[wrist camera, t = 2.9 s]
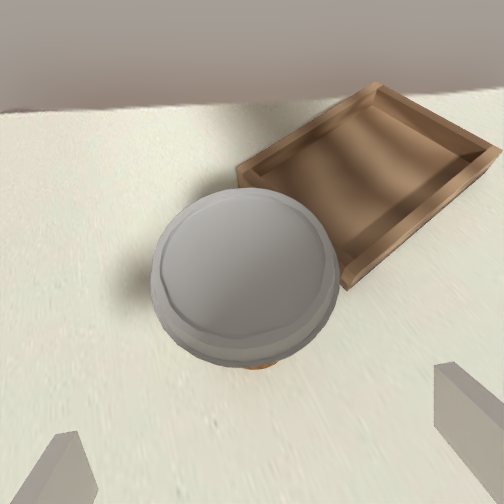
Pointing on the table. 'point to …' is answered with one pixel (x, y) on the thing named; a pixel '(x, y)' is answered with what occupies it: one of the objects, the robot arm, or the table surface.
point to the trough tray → (371, 173)
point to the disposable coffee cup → (244, 278)
